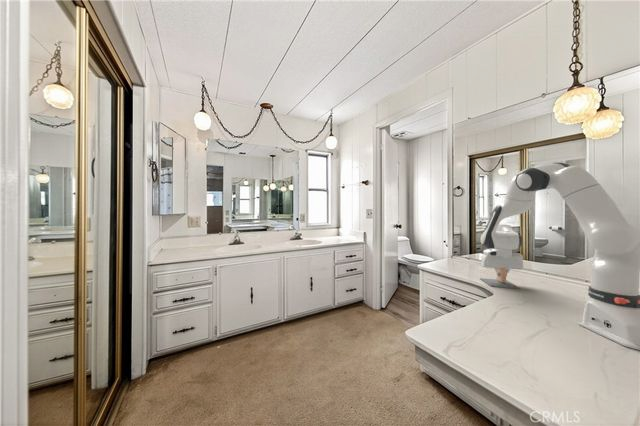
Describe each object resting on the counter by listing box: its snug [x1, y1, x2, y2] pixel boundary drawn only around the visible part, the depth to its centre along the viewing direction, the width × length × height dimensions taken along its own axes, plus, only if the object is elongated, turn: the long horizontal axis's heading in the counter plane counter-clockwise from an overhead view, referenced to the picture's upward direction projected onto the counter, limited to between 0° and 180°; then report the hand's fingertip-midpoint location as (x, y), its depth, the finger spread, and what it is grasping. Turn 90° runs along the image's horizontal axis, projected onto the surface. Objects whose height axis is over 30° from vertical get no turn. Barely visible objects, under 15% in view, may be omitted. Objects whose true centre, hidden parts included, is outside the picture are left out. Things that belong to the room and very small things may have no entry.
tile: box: [496, 268, 507, 283], centre depth 139 cm, size 6×2×8 cm, turn 167°
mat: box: [479, 277, 521, 290], centre depth 137 cm, size 14×14×1 cm
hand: (501, 275), depth 139 cm, fingers closed on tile, 2 cm apart
